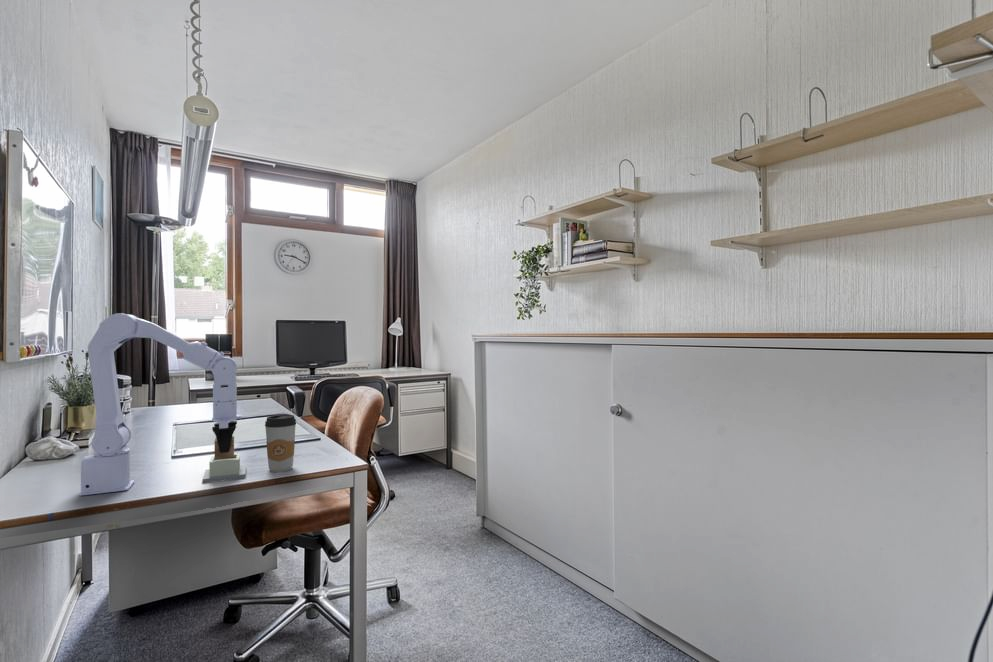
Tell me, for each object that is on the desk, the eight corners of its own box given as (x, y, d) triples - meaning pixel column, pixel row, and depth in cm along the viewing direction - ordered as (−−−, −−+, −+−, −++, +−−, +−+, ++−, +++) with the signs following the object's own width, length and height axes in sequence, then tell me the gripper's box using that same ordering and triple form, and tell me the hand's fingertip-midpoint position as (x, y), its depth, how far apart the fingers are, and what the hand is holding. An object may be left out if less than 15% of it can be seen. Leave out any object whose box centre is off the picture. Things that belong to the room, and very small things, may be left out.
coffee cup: (262, 474, 137) (262, 420, 137) (267, 466, 145) (267, 415, 145) (294, 471, 139) (294, 418, 139) (298, 464, 147) (298, 413, 147)
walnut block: (214, 459, 132) (214, 441, 132) (215, 455, 137) (215, 437, 137) (233, 457, 134) (233, 439, 134) (234, 454, 139) (234, 436, 139)
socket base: (202, 483, 129) (202, 464, 129) (205, 473, 138) (205, 456, 138) (245, 477, 133) (245, 460, 133) (245, 468, 142) (245, 452, 142)
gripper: (240, 403, 131) (240, 454, 131) (241, 396, 144) (242, 443, 144) (210, 404, 128) (210, 457, 128) (214, 398, 141) (214, 446, 141)
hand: (225, 450), depth 136 cm, fingers closed on walnut block, 4 cm apart
